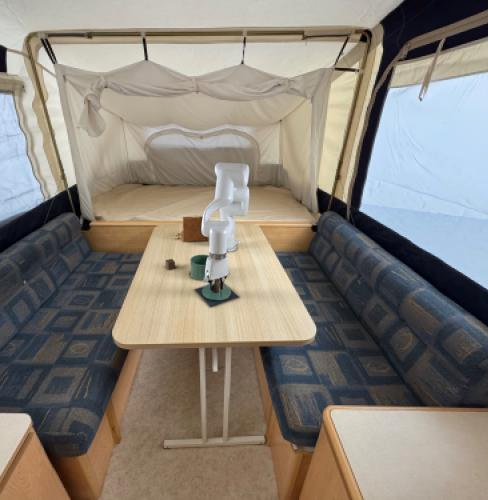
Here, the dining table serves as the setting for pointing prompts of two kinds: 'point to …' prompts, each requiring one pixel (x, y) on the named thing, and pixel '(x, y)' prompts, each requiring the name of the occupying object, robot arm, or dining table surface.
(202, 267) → the canister
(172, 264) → the block
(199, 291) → the mat
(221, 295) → the lid
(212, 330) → the dining table surface
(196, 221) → the game set
